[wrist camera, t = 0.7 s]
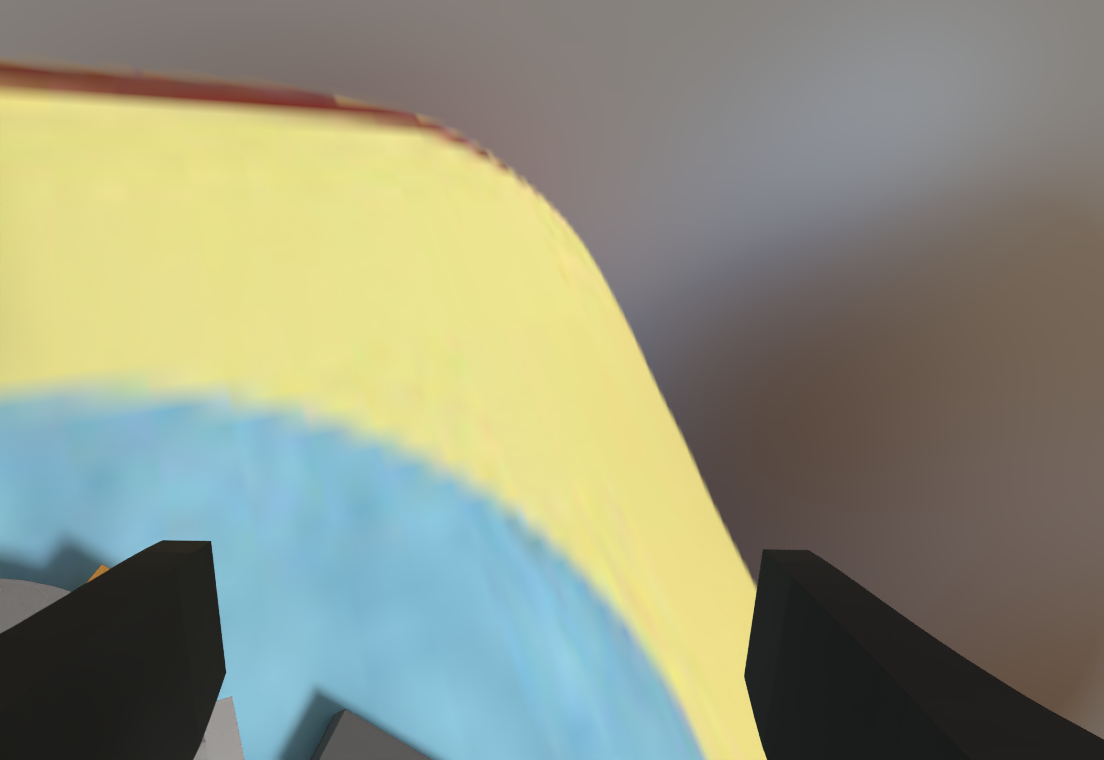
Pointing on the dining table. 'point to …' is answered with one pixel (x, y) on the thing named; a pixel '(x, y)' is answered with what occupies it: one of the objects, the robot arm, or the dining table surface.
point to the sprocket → (21, 599)
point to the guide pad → (361, 742)
